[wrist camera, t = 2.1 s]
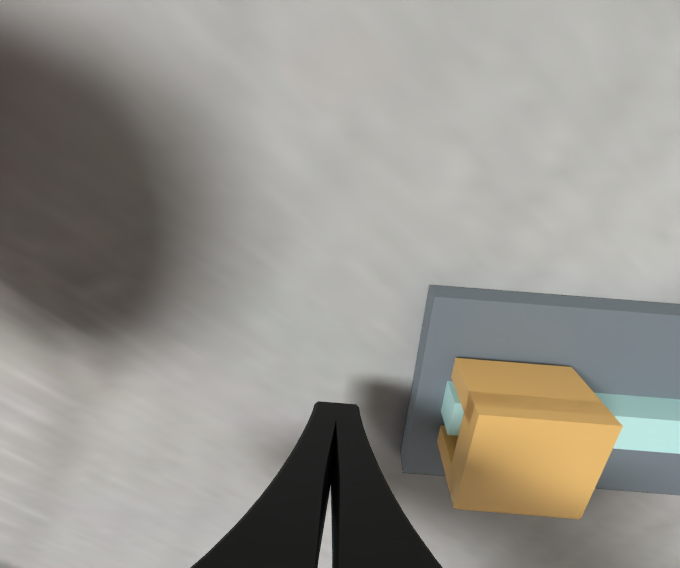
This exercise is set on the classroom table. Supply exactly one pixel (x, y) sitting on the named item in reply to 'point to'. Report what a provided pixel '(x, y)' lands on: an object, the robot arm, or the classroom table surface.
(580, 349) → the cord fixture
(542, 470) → the sleeve
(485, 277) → the classroom table surface
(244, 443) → the classroom table surface
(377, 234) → the classroom table surface
